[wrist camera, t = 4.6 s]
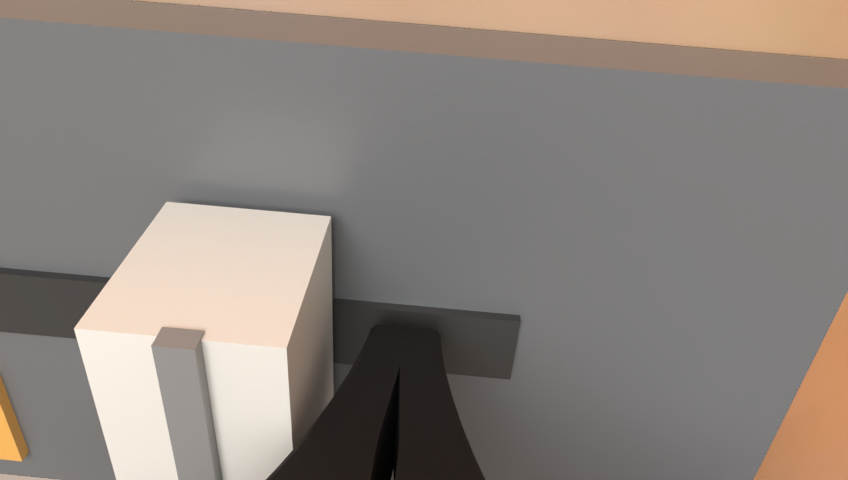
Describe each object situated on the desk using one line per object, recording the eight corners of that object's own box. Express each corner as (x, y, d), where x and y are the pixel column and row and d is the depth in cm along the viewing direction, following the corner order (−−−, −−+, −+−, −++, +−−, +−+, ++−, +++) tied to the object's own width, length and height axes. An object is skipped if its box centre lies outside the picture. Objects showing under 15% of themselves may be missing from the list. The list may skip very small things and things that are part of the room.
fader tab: (334, 441, 16) (298, 603, 13) (203, 429, 16) (136, 586, 13) (331, 214, 13) (282, 358, 10) (165, 199, 13) (64, 337, 10)
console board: (705, 493, 19) (723, 555, 18) (-304, 396, 20) (-369, 447, 18) (898, 63, 12) (954, 104, 11) (-636, -63, 13) (-781, -42, 12)
